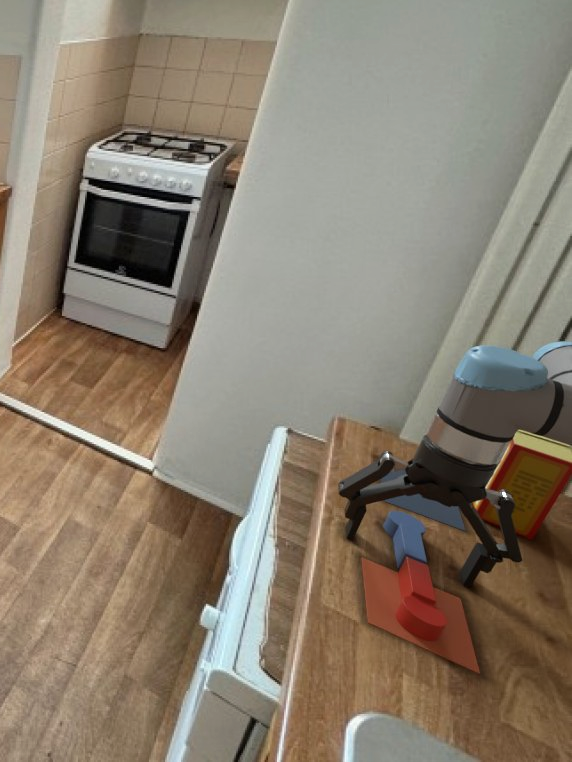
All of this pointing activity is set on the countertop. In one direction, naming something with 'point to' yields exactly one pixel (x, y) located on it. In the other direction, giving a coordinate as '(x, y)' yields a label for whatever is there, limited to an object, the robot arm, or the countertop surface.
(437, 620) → the red keyhole-shaped block
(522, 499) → the baking soda box
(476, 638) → the countertop surface
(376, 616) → the terracotta mat
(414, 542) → the blue t-shaped piece
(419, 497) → the slate mat
